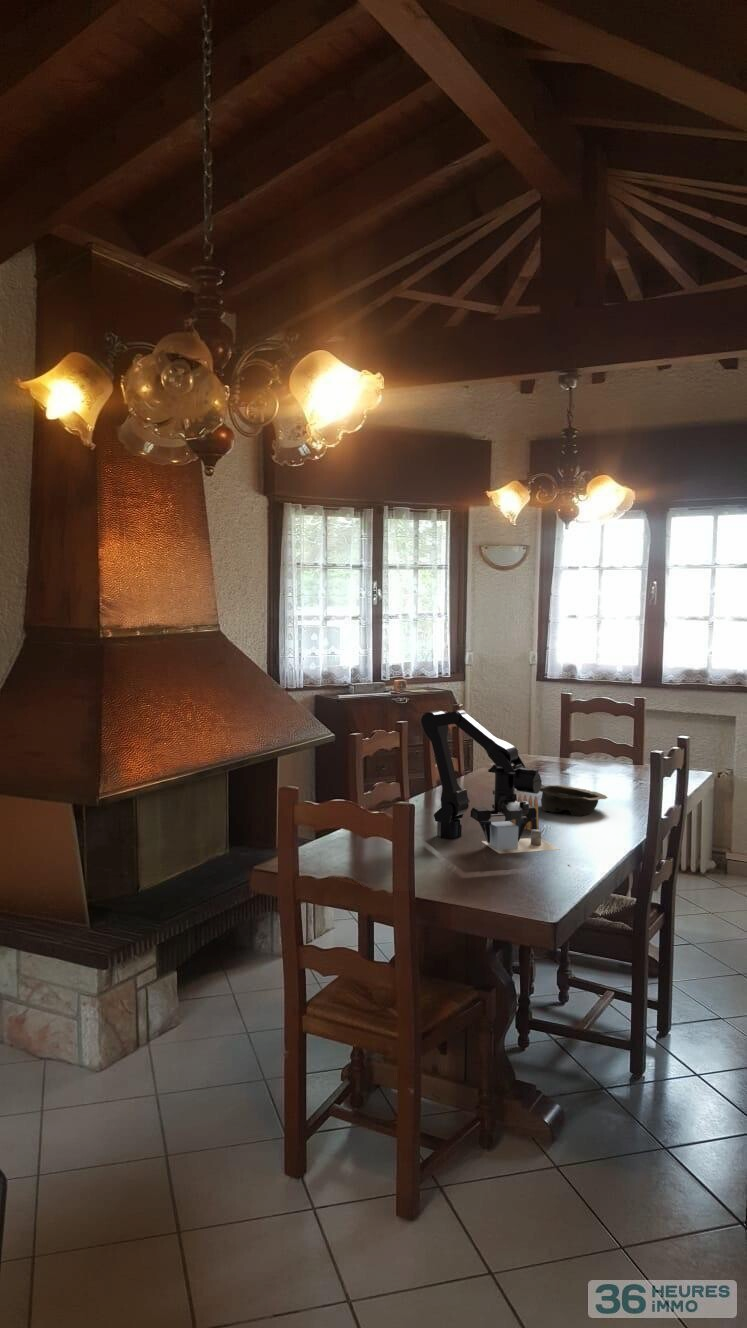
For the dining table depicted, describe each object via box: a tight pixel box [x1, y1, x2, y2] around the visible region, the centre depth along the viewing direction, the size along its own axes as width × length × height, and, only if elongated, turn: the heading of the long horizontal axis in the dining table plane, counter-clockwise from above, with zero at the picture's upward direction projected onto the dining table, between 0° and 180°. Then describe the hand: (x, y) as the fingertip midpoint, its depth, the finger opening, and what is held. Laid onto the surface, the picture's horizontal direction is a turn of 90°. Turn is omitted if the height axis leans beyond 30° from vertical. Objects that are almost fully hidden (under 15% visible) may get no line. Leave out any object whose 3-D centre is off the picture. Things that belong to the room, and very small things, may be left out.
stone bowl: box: [539, 783, 609, 817], centre depth 312 cm, size 25×25×9 cm
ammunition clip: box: [504, 793, 540, 831], centre depth 283 cm, size 11×2×12 cm, turn 60°
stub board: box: [481, 829, 561, 855], centre depth 263 cm, size 19×13×5 cm
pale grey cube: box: [488, 820, 518, 850], centre depth 261 cm, size 6×6×6 cm
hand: (503, 841), depth 262 cm, fingers open, 9 cm apart
